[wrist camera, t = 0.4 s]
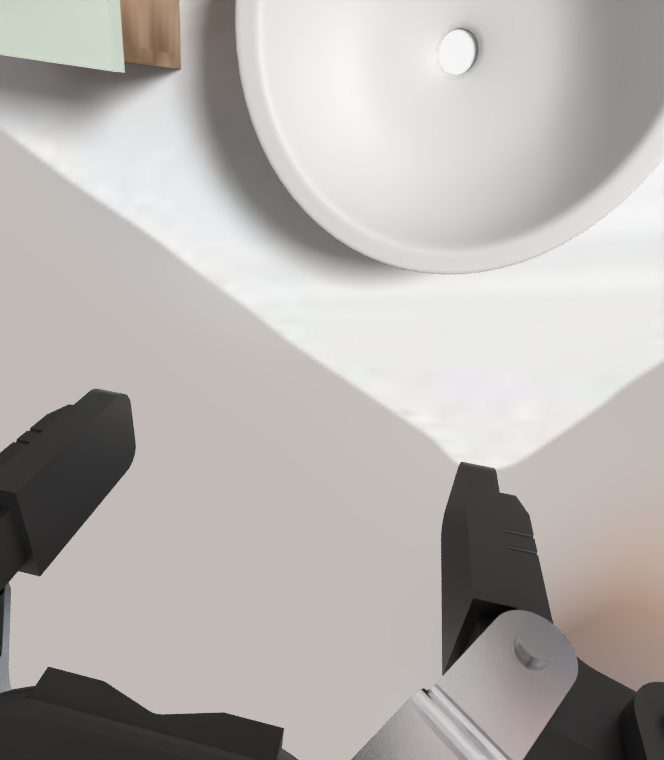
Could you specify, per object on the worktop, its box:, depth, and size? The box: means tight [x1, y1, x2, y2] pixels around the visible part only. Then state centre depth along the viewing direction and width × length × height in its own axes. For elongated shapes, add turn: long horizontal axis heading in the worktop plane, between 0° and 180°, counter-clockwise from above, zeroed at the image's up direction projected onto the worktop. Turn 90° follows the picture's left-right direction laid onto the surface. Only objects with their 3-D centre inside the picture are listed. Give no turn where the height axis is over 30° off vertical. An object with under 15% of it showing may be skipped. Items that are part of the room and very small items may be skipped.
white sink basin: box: [235, 0, 664, 274], centre depth 28 cm, size 24×24×7 cm
